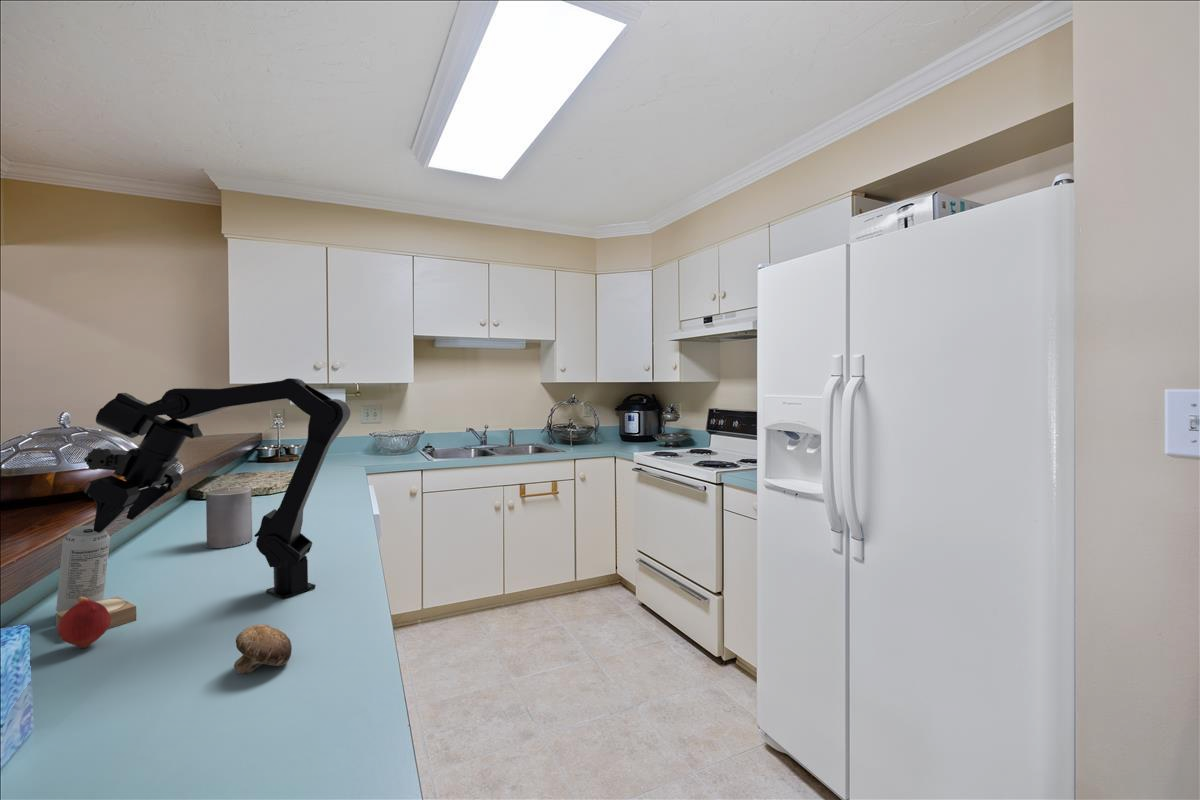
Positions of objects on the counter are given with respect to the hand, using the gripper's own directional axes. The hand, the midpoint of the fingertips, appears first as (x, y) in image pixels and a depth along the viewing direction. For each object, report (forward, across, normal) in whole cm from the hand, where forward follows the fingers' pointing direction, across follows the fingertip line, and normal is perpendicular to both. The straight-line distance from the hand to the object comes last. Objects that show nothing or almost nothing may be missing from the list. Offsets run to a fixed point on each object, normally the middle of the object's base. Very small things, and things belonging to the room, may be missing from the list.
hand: (113, 524), depth 97 cm
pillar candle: (+12, -39, +10) cm, 42 cm away
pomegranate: (+11, +17, +12) cm, 24 cm away
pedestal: (+12, +8, +8) cm, 17 cm away
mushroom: (-2, +30, +38) cm, 48 cm away
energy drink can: (+15, +3, +3) cm, 16 cm away
